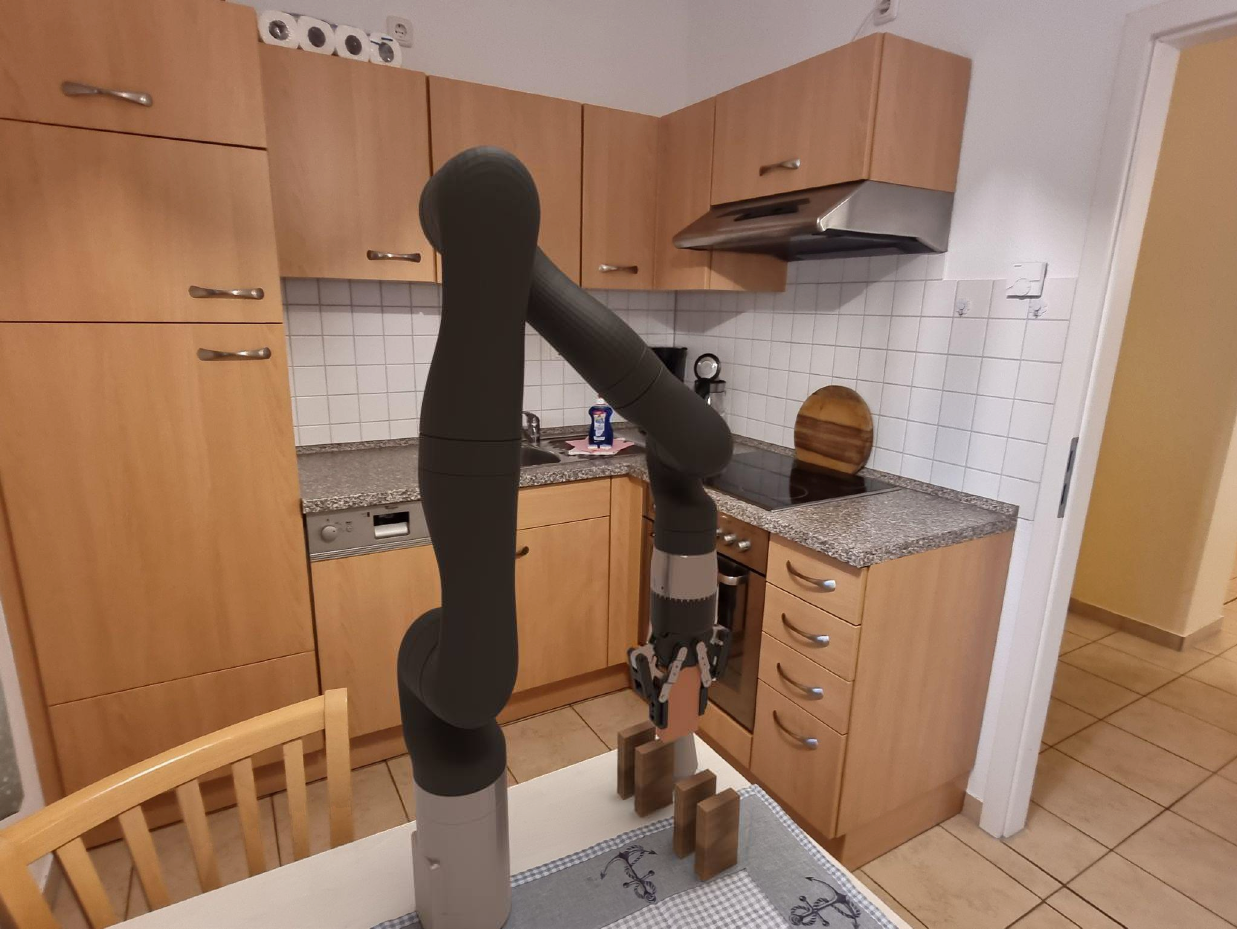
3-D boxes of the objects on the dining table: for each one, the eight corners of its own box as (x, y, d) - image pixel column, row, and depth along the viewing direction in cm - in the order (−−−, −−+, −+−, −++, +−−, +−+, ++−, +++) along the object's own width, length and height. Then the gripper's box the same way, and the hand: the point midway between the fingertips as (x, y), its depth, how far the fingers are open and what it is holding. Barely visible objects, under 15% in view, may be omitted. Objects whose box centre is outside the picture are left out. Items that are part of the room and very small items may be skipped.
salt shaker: (647, 770, 96) (649, 685, 93) (683, 759, 98) (686, 676, 95) (668, 796, 91) (670, 707, 88) (705, 784, 93) (708, 697, 90)
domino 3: (664, 743, 80) (667, 672, 78) (656, 736, 81) (658, 666, 80) (698, 730, 83) (701, 661, 81) (690, 723, 84) (692, 655, 82)
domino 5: (703, 882, 77) (706, 812, 75) (694, 872, 78) (696, 803, 76) (736, 863, 80) (740, 795, 78) (727, 854, 81) (730, 787, 79)
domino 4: (681, 859, 80) (683, 791, 78) (672, 850, 82) (674, 783, 80) (713, 841, 83) (716, 775, 81) (705, 833, 84) (707, 768, 82)
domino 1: (623, 799, 90) (624, 738, 88) (617, 792, 91) (617, 731, 89) (654, 786, 93) (655, 725, 91) (647, 779, 94) (648, 720, 92)
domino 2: (641, 818, 87) (642, 754, 85) (634, 810, 88) (635, 747, 86) (673, 803, 89) (674, 741, 88) (665, 796, 91) (666, 735, 89)
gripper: (650, 608, 71) (646, 755, 75) (753, 582, 79) (745, 716, 82) (612, 585, 78) (610, 721, 81) (710, 563, 85) (705, 688, 89)
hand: (678, 718), depth 82 cm, fingers closed on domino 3, 5 cm apart
